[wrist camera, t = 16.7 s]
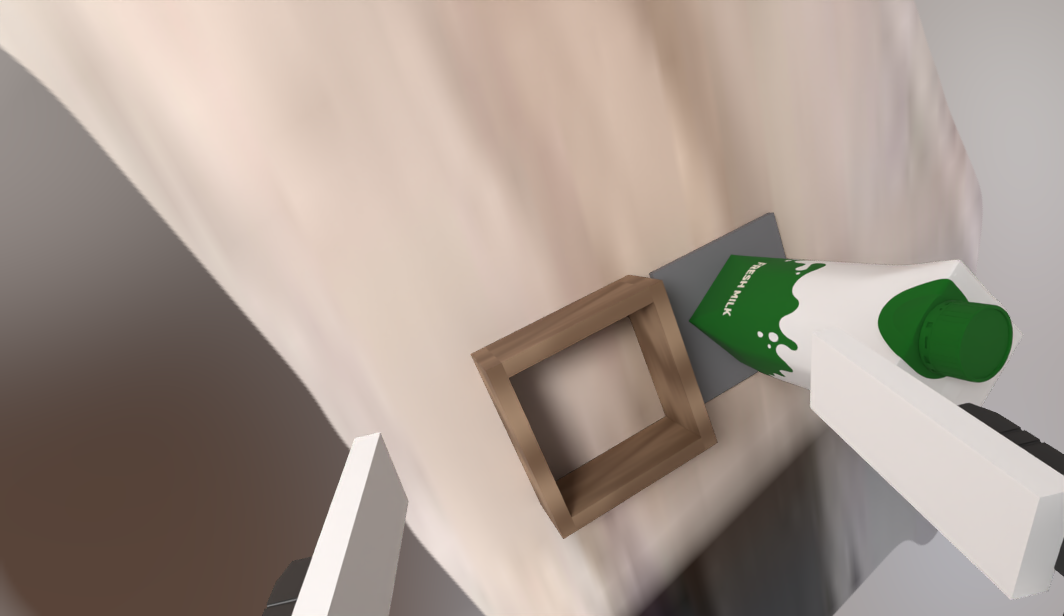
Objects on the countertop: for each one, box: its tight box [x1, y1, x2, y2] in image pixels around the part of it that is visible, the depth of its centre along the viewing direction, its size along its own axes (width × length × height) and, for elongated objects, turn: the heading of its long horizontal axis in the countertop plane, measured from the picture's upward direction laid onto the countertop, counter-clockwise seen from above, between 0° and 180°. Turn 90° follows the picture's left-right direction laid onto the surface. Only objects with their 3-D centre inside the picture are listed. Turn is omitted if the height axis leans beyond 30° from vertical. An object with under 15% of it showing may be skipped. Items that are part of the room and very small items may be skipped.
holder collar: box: [471, 275, 718, 539], centre depth 39 cm, size 14×14×5 cm
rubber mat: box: [649, 213, 786, 404], centre depth 45 cm, size 13×13×1 cm
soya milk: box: [689, 255, 1023, 407], centre depth 35 cm, size 9×9×20 cm
